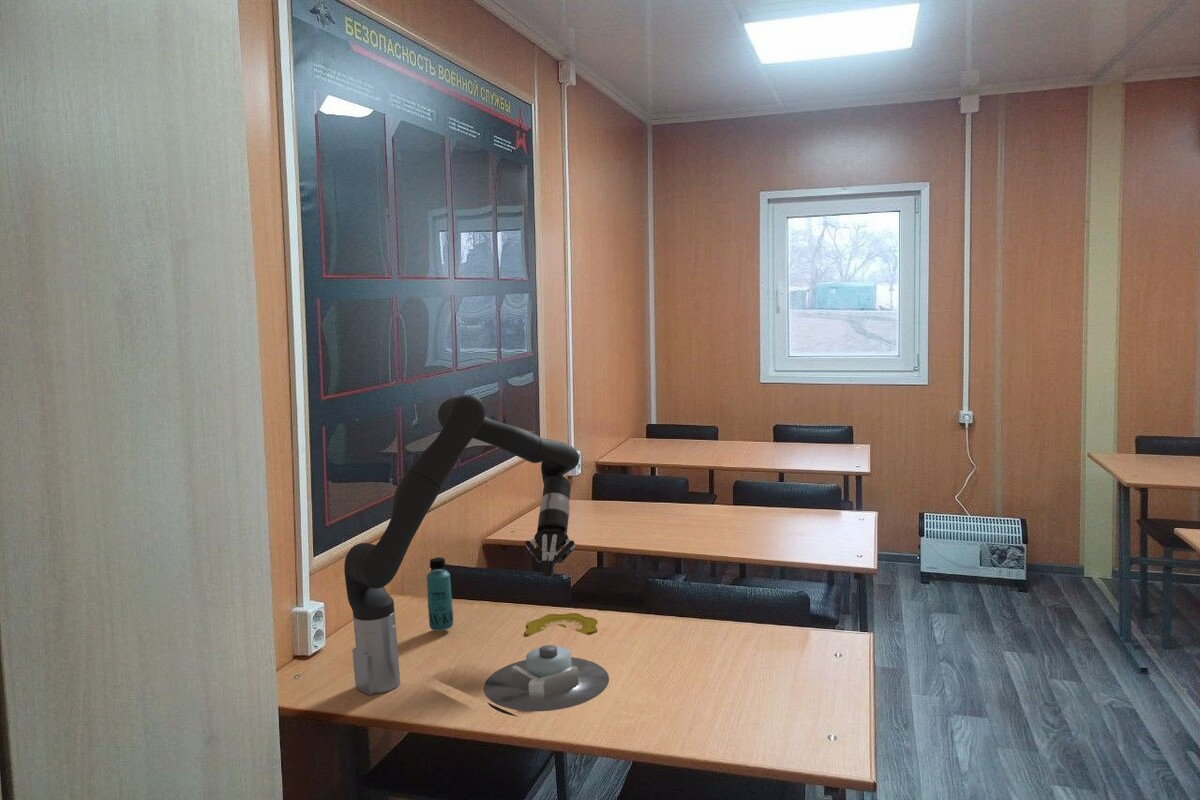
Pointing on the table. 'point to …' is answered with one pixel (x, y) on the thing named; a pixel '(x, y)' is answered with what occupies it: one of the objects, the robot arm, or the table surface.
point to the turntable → (545, 687)
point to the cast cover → (548, 660)
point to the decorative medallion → (586, 621)
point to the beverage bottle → (439, 596)
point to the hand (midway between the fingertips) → (546, 577)
